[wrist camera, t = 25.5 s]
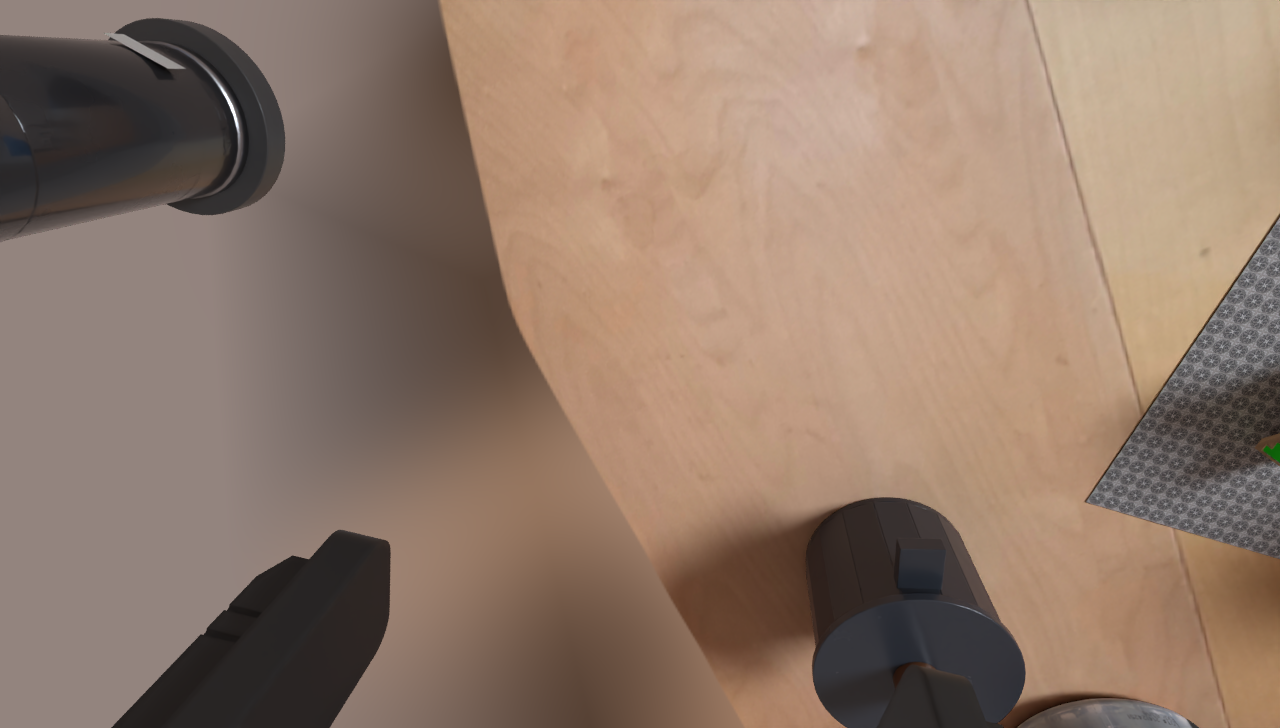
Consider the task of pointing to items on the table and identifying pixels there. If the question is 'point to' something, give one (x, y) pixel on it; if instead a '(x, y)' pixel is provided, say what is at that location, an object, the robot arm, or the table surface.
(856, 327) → the table surface
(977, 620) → the lid
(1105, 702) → the supplement tub
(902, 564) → the pot
